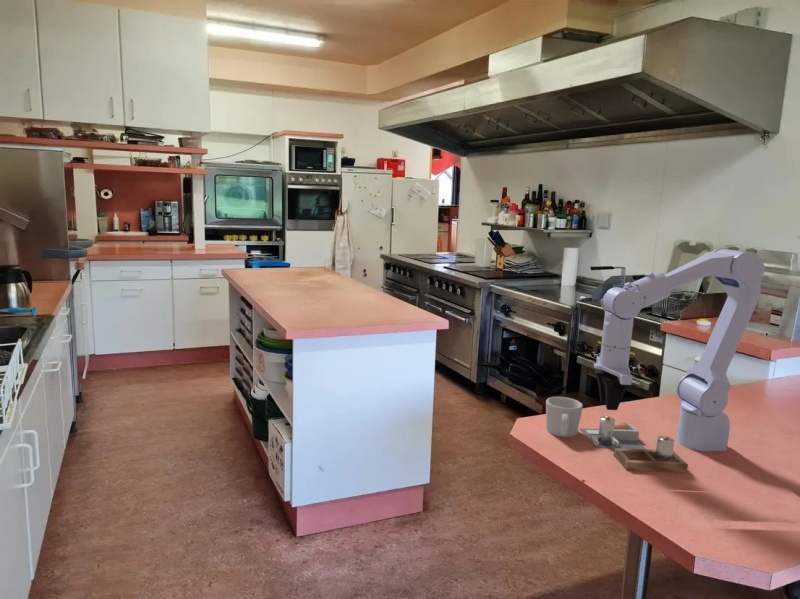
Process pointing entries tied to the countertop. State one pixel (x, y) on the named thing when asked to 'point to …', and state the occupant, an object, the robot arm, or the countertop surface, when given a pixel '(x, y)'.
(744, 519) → the countertop surface
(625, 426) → the button
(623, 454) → the wooden divided tray
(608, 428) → the cylinder
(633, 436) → the grey board with box
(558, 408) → the cup
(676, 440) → the robot arm
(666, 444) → the cell
